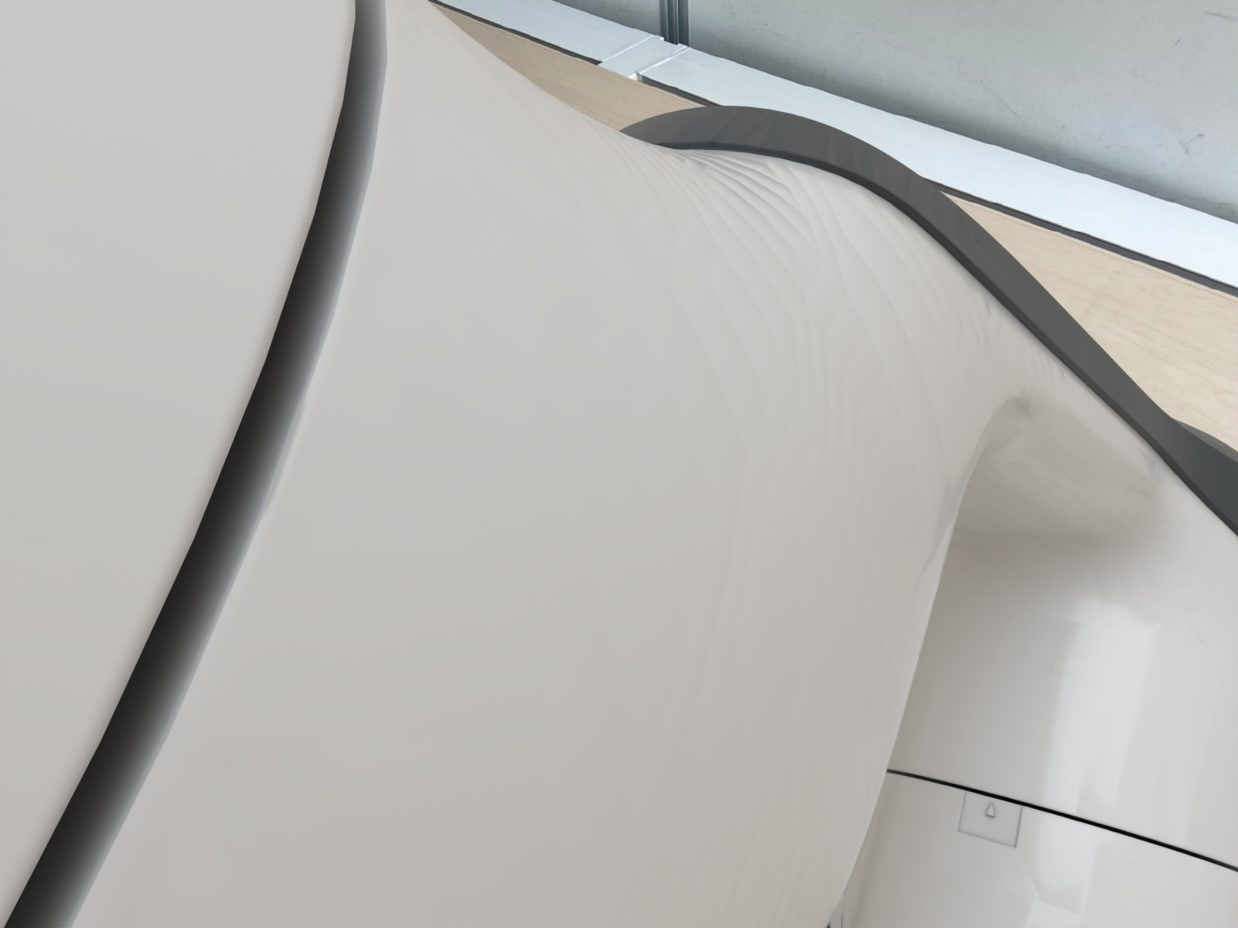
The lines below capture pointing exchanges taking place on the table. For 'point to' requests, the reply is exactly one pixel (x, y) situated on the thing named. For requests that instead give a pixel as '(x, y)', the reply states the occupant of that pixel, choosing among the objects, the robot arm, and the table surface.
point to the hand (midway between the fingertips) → (618, 749)
